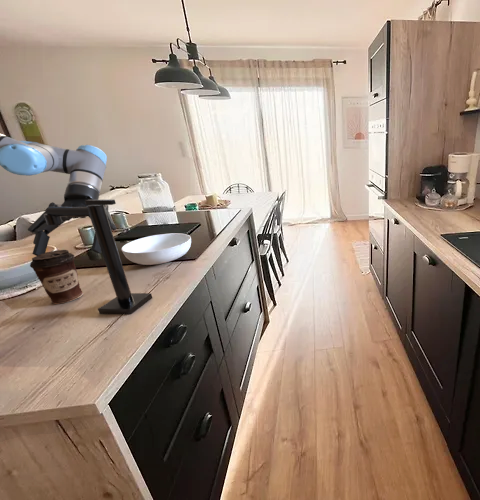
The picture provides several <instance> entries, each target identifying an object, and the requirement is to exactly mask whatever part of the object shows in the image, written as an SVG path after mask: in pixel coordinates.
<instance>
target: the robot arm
mask: <svg viewBox="0 0 480 500" xmlns="http://www.w3.org/2000/svg"><path fill="white" fill-rule="evenodd" d="M107 160H108V156H107V154H106V153H105V152H104V151H103V150H102V149H100V148H99V147H96V146H95V145H90V144H85V145H84V144H82V145H79V146H78V147H77V148H76V150H75V149H70V148H69V149H68V148H62V147H58V146H53V145H48V144H44V143H40V142H36V141H28V140H17V139H15V138H12V137H9V136H7V135H5V134H2V133H0V167H1V168H2V169H4V170H5V171H7V172H8V173H11V174H13V175H17V176H26V177H27V176H29V177H30V176H35V175H40V174H41V173H47V172H52V173H61V174H65V175H68V176H69V177H68V179H67V183H66V187H65V191H64V194H63V202H62V203H61V204H58V203H55V202H49V204H48V206H47V208H48V207H87V206H88V205H86V203H85V200H100V193H101V189H102V185H103V180H104V176H105V173H106V169H107ZM104 208H105V211H106V214H107V217H108V221H109V224H110V227H111V230H112V231H116V230H117V226H116V224H115V222H114V220H113V217H112V216H111V213H110V212H109V205H104ZM44 214H46V210H44V212H43V213H41V215H40V216H39V217H38V218H37V219H36V220H35V221H34V222H33V223H32V224H31V225H30V226H29V227H28V228H27V231H28V232H30V233H31V234H33V235H34V238H33V241H32V242H33V245H34V247H33V250H32V253H31V255H34V256H35V257H36V256H38V255H40V254H44V253H46V251H47V248H48V244H49V241H50V238H51V236H49V234H51V233H53V232H54V231H55V230H56V229H57V228H59V227H60V226H61V225H63V224H64V223H65V222H69V221H71V220H72V219H74V220H75V219H86V218H89V219H90V216H61V219H62V222H63V223H61V224H57V225H47V222H46V220H45V217H44ZM91 244H92V245H91V251H92V252H94V253H95V254H102V252H101V249H100V246H99V243H98V240H97V237H96V234H95V233H94V236H93V241H92V243H91Z"/></svg>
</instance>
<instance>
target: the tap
mask: <svg viewBox="0 0 480 500" xmlns="http://www.w3.org/2000/svg"><path fill="white" fill-rule="evenodd" d="M85 203H86V205H88V206H87V207H48V206H47V208H45V211H46V214H44V217H45V220H46V222H47V225H57V224H61V223H63V222H62V219H61V216H87V217H88V216H90V218H89V219H90V221H91V225H92V228H93V231H94V235H95V234H96V237H97V240H98V243H99V246H100V249H101V255H102V257H103V261H104V264H105V266H106V269H107V272H108V276H109V279H110V282H111V285H112V288H113V291H114V293H115V296H116V297H114V298H112V299H111V300H109V301H108V302H106V303H104V304H103V305H101V306H100V307H98V308H97V311H98V314H99V315H132V314H134V313H135V312H137V310H139V309H140V308H142V307H143V306H144V305H145V304H147V303H148V302H149V301H151V300H152V299H153V295H152V293H151V292H149V293H147V292H144V293H143V292H131V289H130V286H129V281H128V279H127V276H126V272H125V270H124V269H125V268H124V265H123V262H122V259H121V257H120V253H119V250H118V246H117V243H116V240H115V237H114V234H113V230H111V227H110V224H109V221H108V217H107V214H106V211H105V208H104V205H108V206H113V205H116V204H117V203H116V200H115V199H98V200H85ZM63 224H64V223H63ZM61 225H62V224H61Z"/></svg>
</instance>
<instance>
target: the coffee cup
mask: <svg viewBox="0 0 480 500" xmlns="http://www.w3.org/2000/svg"><path fill="white" fill-rule="evenodd" d="M29 267H30V268H32V269H33V271H34V272H35V275H36V277H37V279H38V280H39V282H40V283H41V285H42V287H43V289H44V292H45V293H46V295H47V296H48V297H49V298H50V300H51V303H52V304H54V305H57V304H59V305H60V304H65V303H68V302H71V301H74V300H77V299H79V298H81V297H82V296H83V295H84V292H83V290H82V288H81V287H80V285H81V284H80V282H79V274H78V271H77V267H76V265H75V254H73V253H72V252H70V251H69V250H68V249H58V250H57V249H56V250H51V251H47V252H45V253H44V254H40V255H38V256H36V255H35V256H33V257H31V262H30V264H29Z"/></svg>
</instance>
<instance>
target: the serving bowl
mask: <svg viewBox="0 0 480 500" xmlns="http://www.w3.org/2000/svg"><path fill="white" fill-rule="evenodd" d="M191 247H192V236H191V235H189V234H188V233H187V234H186V233H180V232H177V233H175V232H173V233H170V232H169V233H161V234H154V235H148V236H145V237H140V238H138V239H134V240H132V241H129V242H127V243H125V244H124V245H123V246H122V247H121V249H120V250H121V252H122V254H123V255H124V257H125V258H126V259H127V260H129V261H130V262H132V263H134V264H136V265H137V264H138V265H143V266H145V265H146V266H151V265H161V264H162V265H163V264H166V263H169V262H172V261H175V260H177V259H180V258H181V257H183V256H184V255H186V254H187V253H188V251H189V250H190V248H191Z"/></svg>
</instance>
